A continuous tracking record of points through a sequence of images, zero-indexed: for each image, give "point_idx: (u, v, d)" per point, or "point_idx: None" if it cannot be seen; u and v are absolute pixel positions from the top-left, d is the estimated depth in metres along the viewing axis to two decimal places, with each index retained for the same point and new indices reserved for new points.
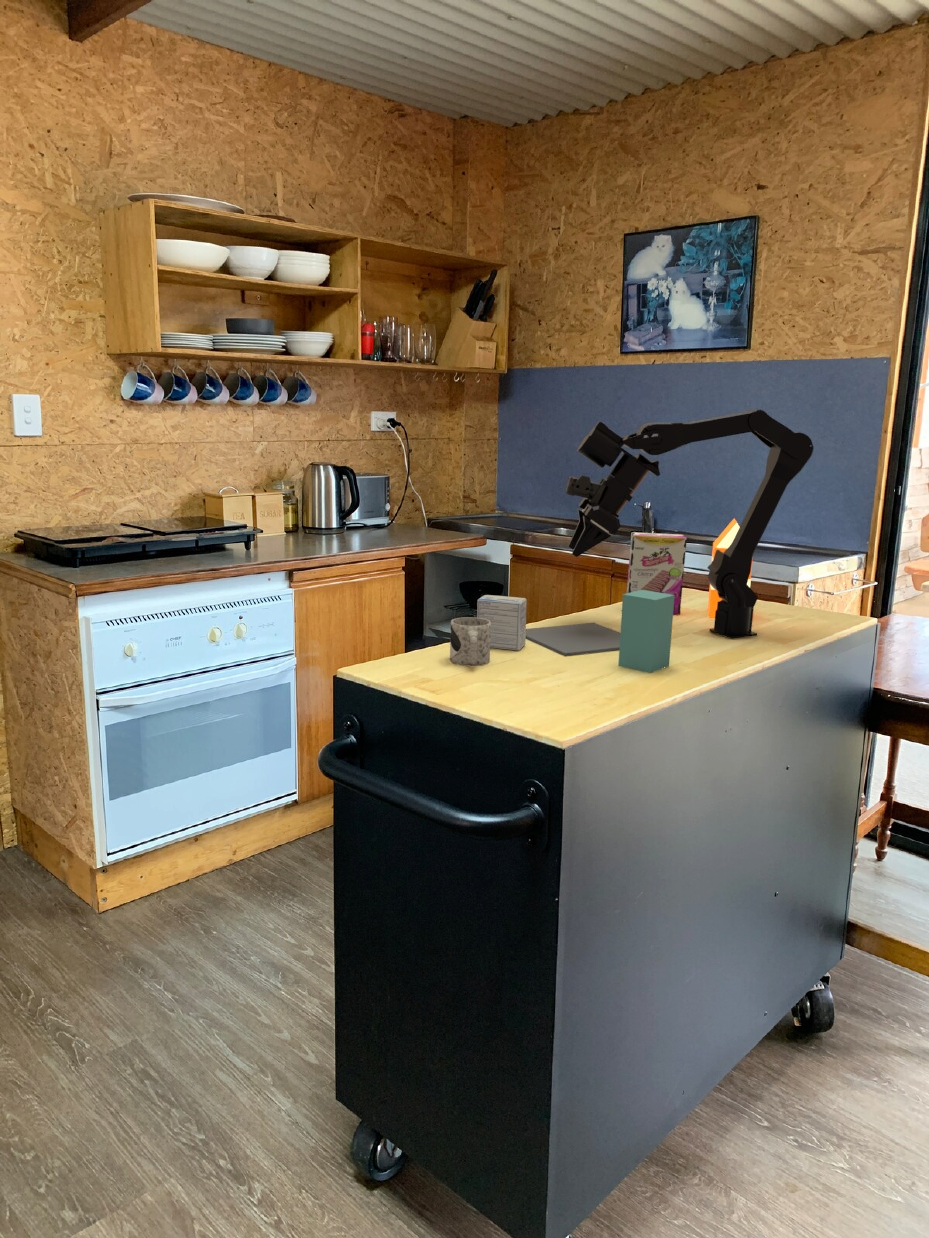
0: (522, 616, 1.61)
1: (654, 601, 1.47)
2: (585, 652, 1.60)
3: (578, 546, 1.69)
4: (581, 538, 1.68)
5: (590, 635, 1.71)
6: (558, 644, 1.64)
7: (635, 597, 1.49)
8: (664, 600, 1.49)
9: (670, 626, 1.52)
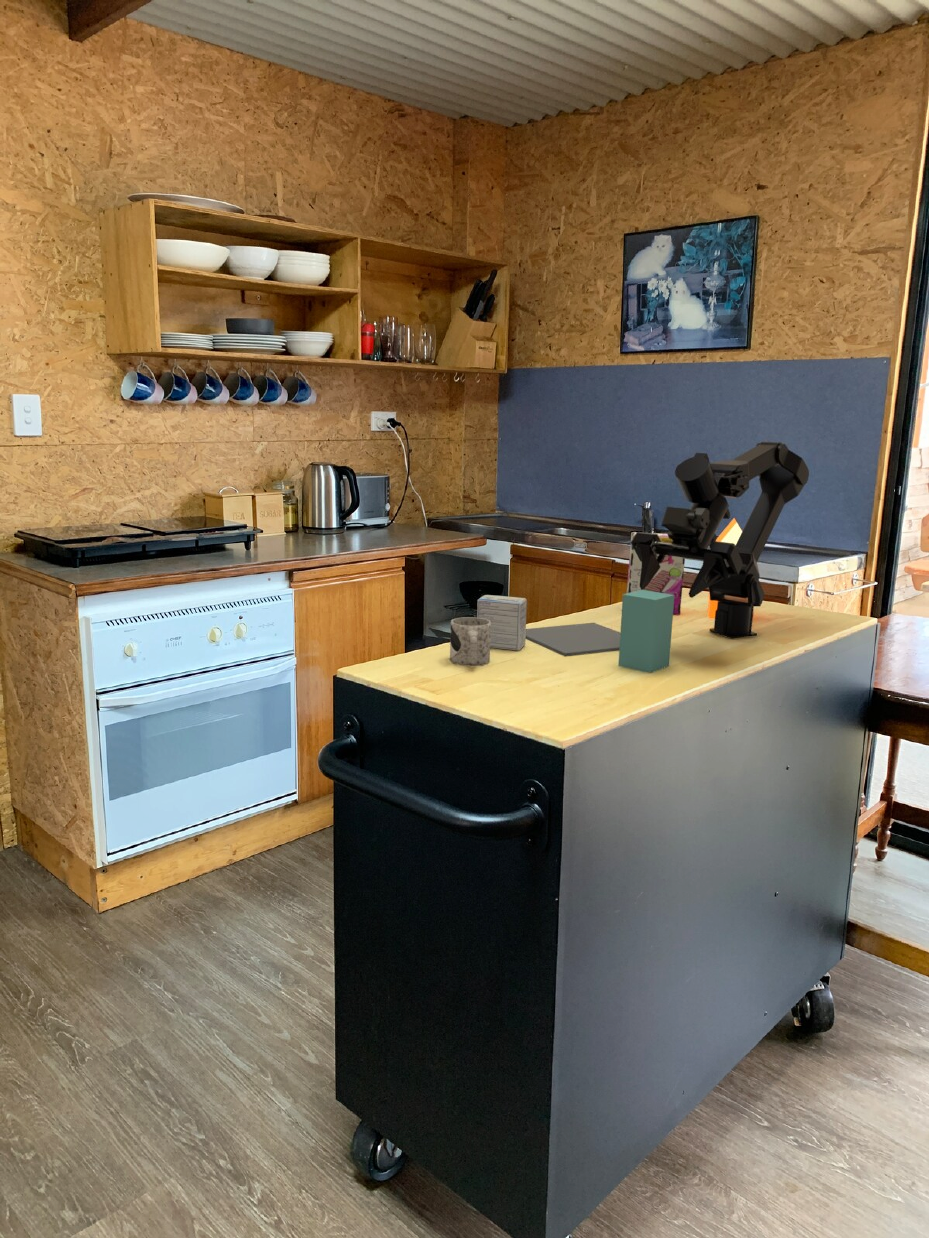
0: (522, 616, 1.61)
1: (654, 601, 1.47)
2: (585, 652, 1.60)
3: (698, 586, 1.52)
4: (703, 577, 1.52)
5: (590, 635, 1.71)
6: (558, 644, 1.64)
7: (635, 597, 1.49)
8: (664, 600, 1.49)
9: (670, 626, 1.52)
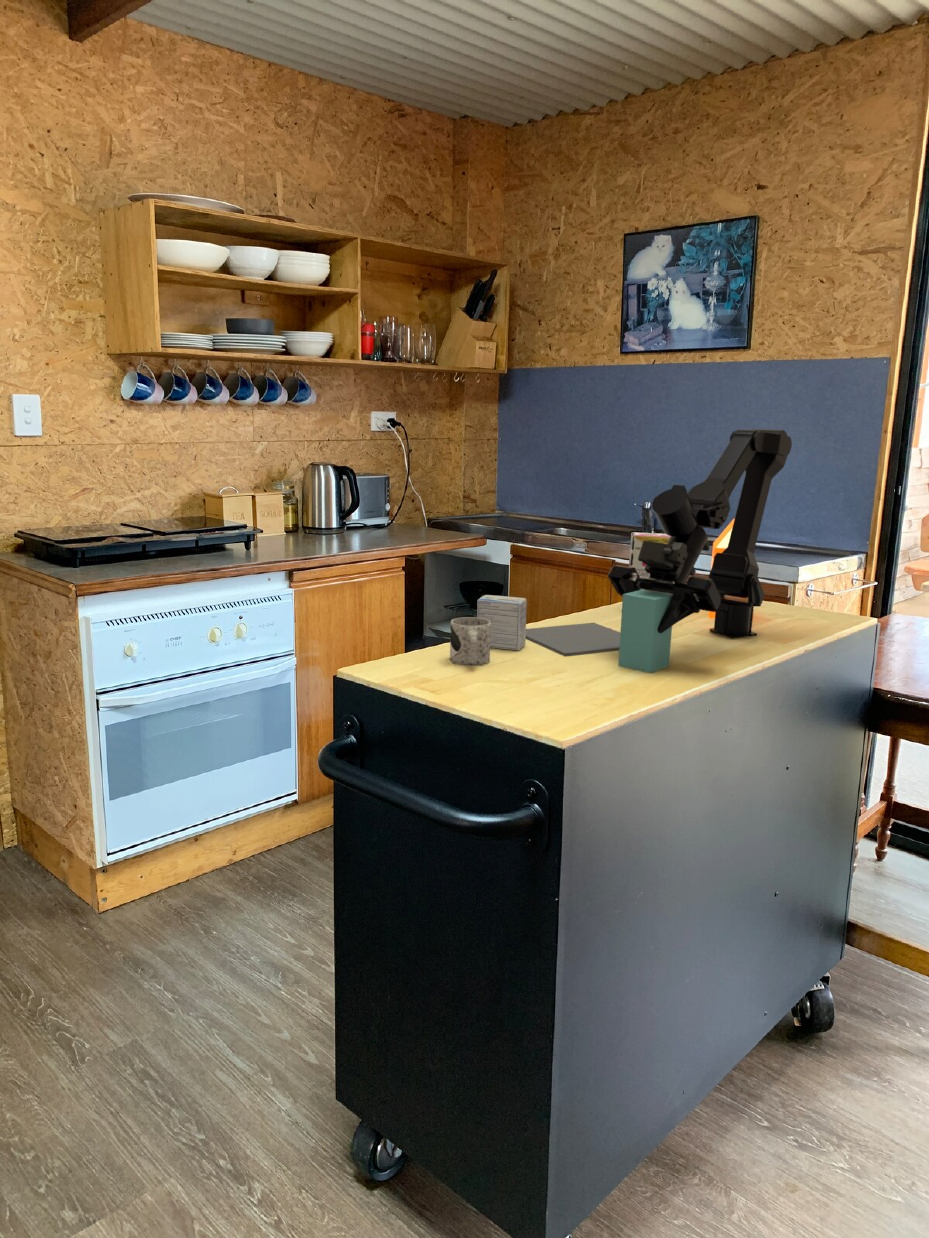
0: (522, 616, 1.61)
1: (654, 601, 1.47)
2: (585, 652, 1.60)
3: (667, 621, 1.49)
4: (672, 612, 1.49)
5: (590, 635, 1.71)
6: (558, 644, 1.64)
7: (635, 597, 1.49)
8: (664, 600, 1.49)
9: None
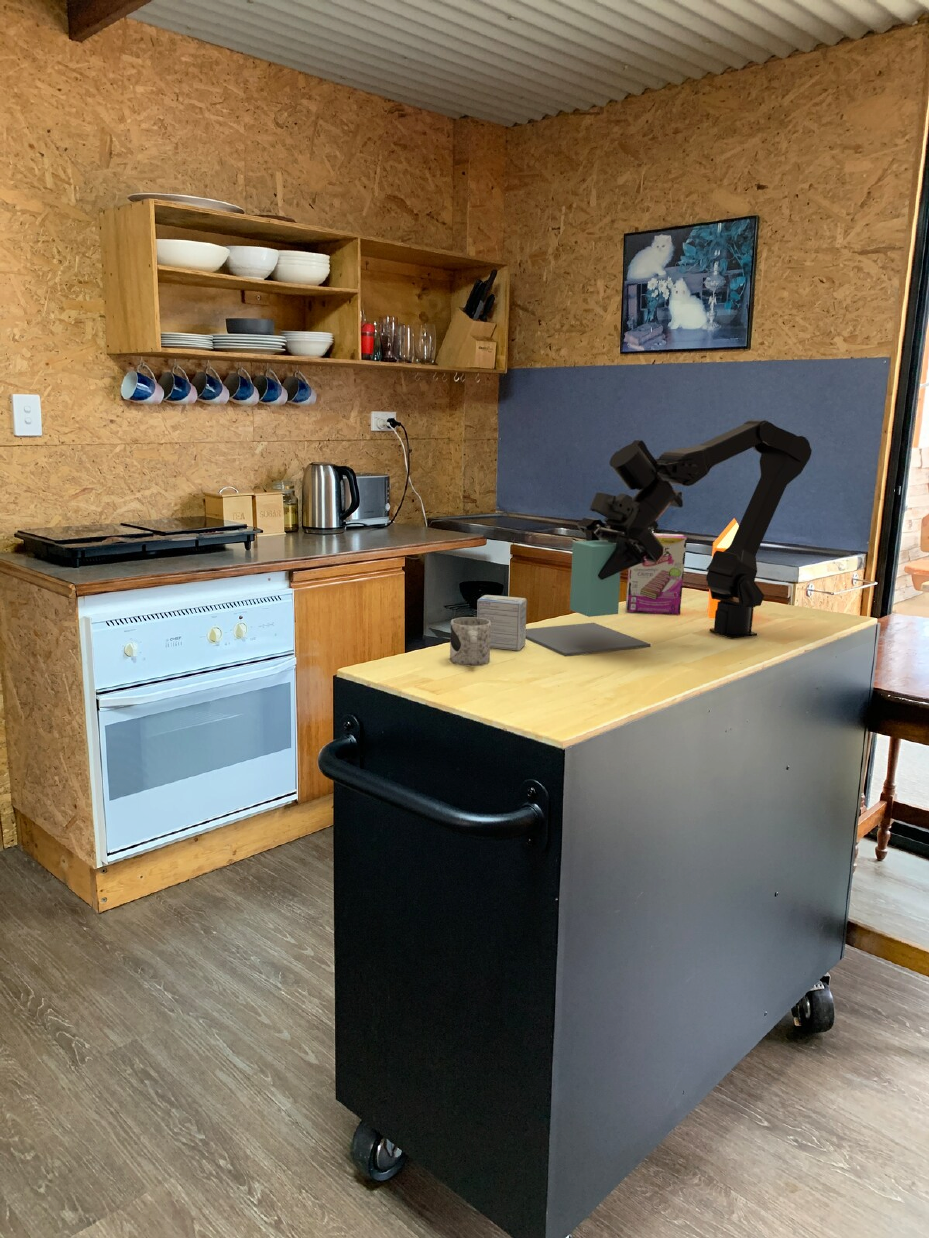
0: (522, 616, 1.61)
1: (592, 548, 1.55)
2: (585, 652, 1.60)
3: (607, 568, 1.56)
4: (613, 560, 1.56)
5: (590, 635, 1.71)
6: (558, 644, 1.64)
7: (580, 544, 1.58)
8: (606, 548, 1.56)
9: (617, 575, 1.58)
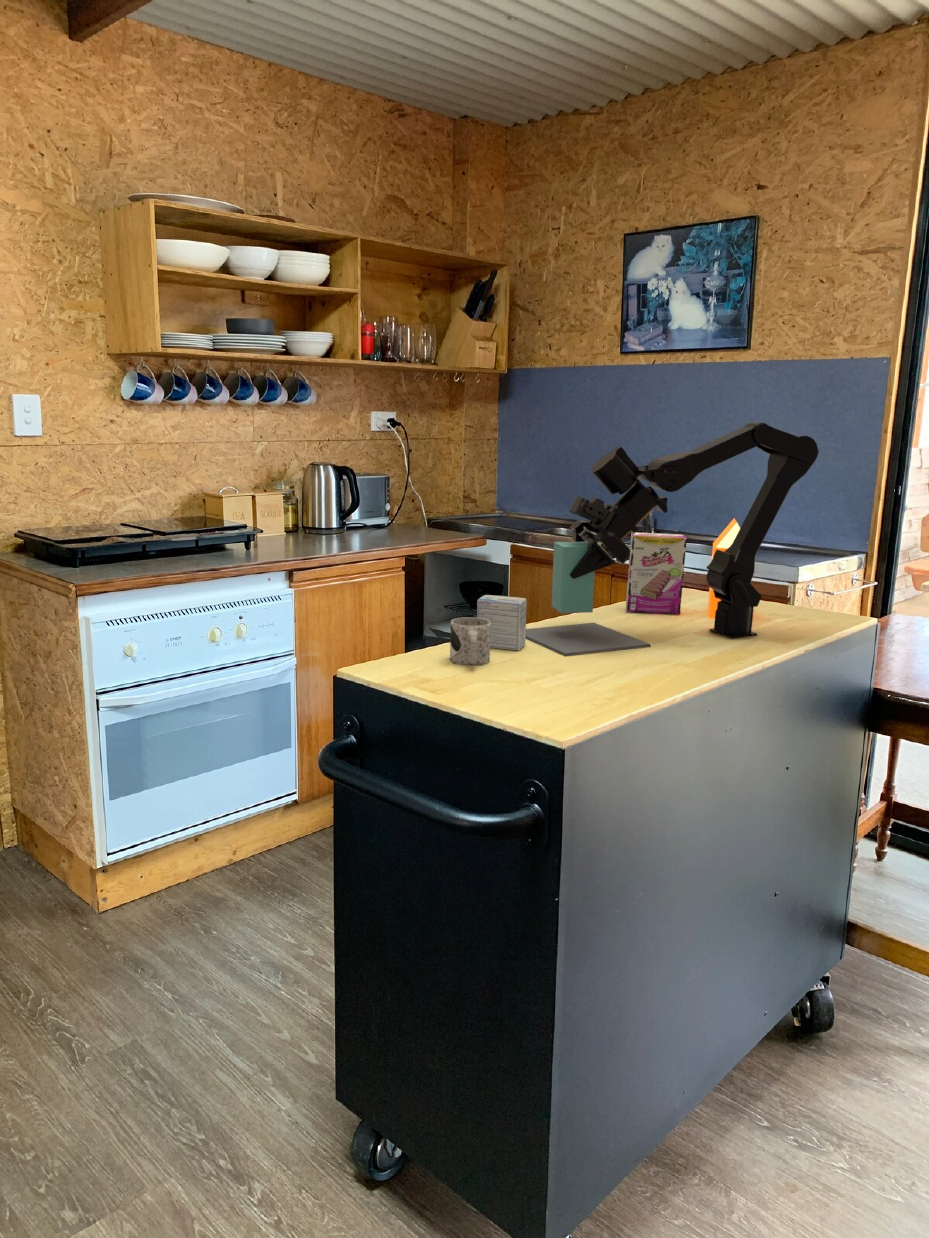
0: (522, 616, 1.61)
1: (563, 548, 1.64)
2: (585, 652, 1.60)
3: (578, 568, 1.64)
4: (583, 561, 1.64)
5: (590, 635, 1.71)
6: (558, 644, 1.64)
7: (557, 544, 1.68)
8: (579, 549, 1.65)
9: (591, 575, 1.66)
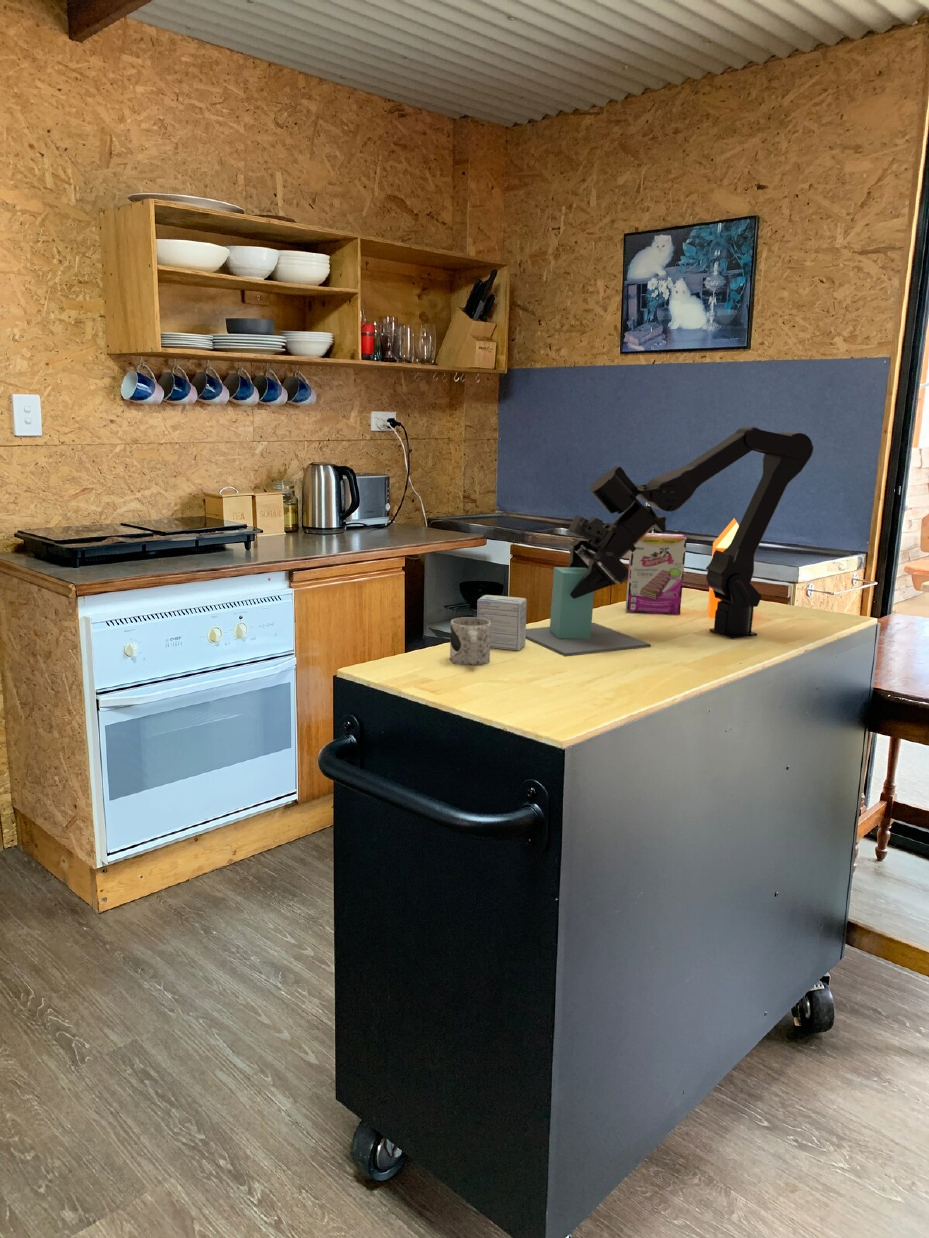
0: (522, 616, 1.61)
1: (563, 574, 1.65)
2: (585, 652, 1.60)
3: (579, 588, 1.64)
4: (584, 581, 1.63)
5: None
6: (558, 644, 1.64)
7: (557, 570, 1.69)
8: (578, 576, 1.66)
9: (590, 601, 1.67)
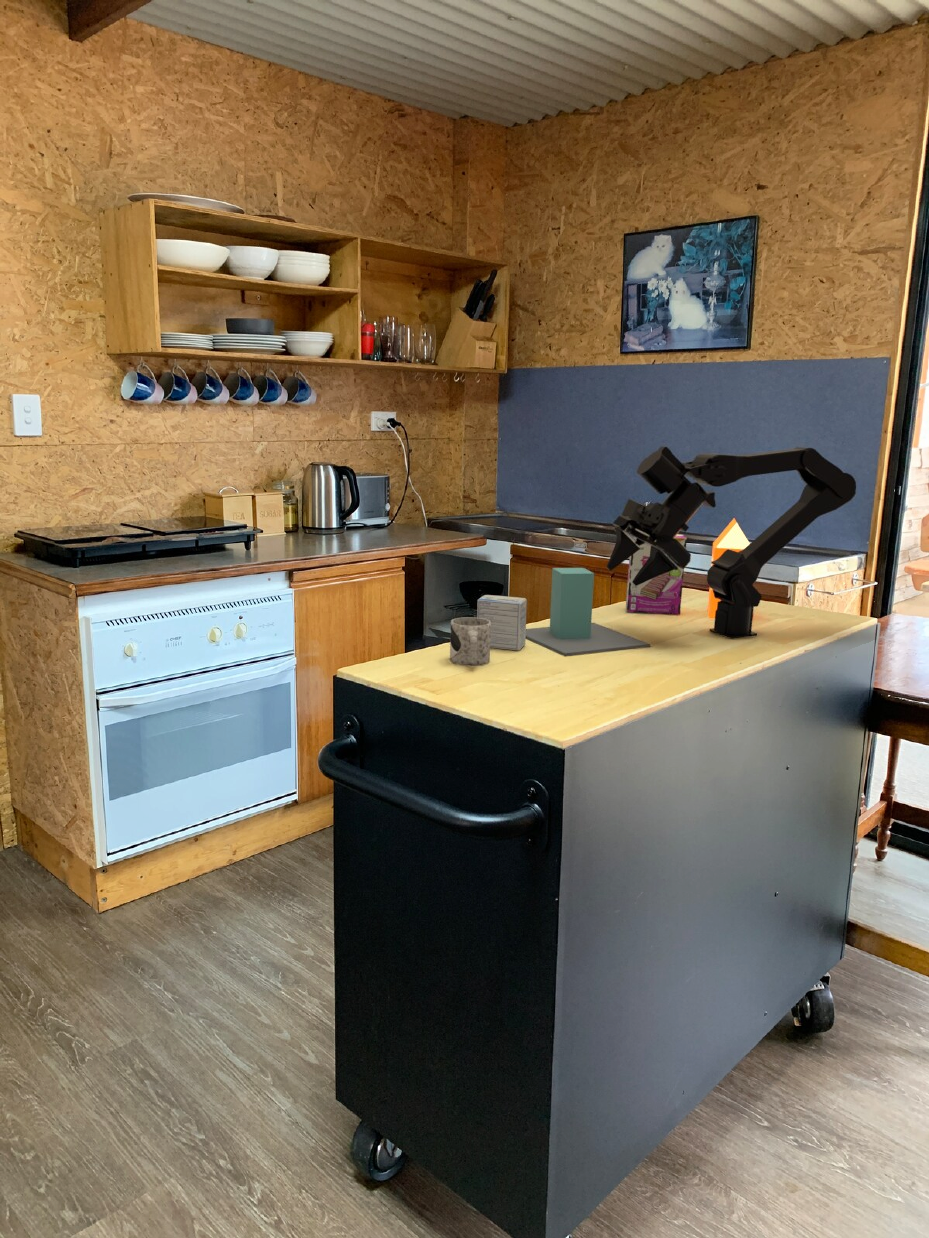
0: (522, 616, 1.61)
1: (561, 575, 1.65)
2: (585, 652, 1.60)
3: (641, 575, 1.65)
4: (646, 568, 1.64)
5: None
6: (558, 644, 1.64)
7: (556, 571, 1.69)
8: (577, 576, 1.66)
9: (589, 601, 1.67)
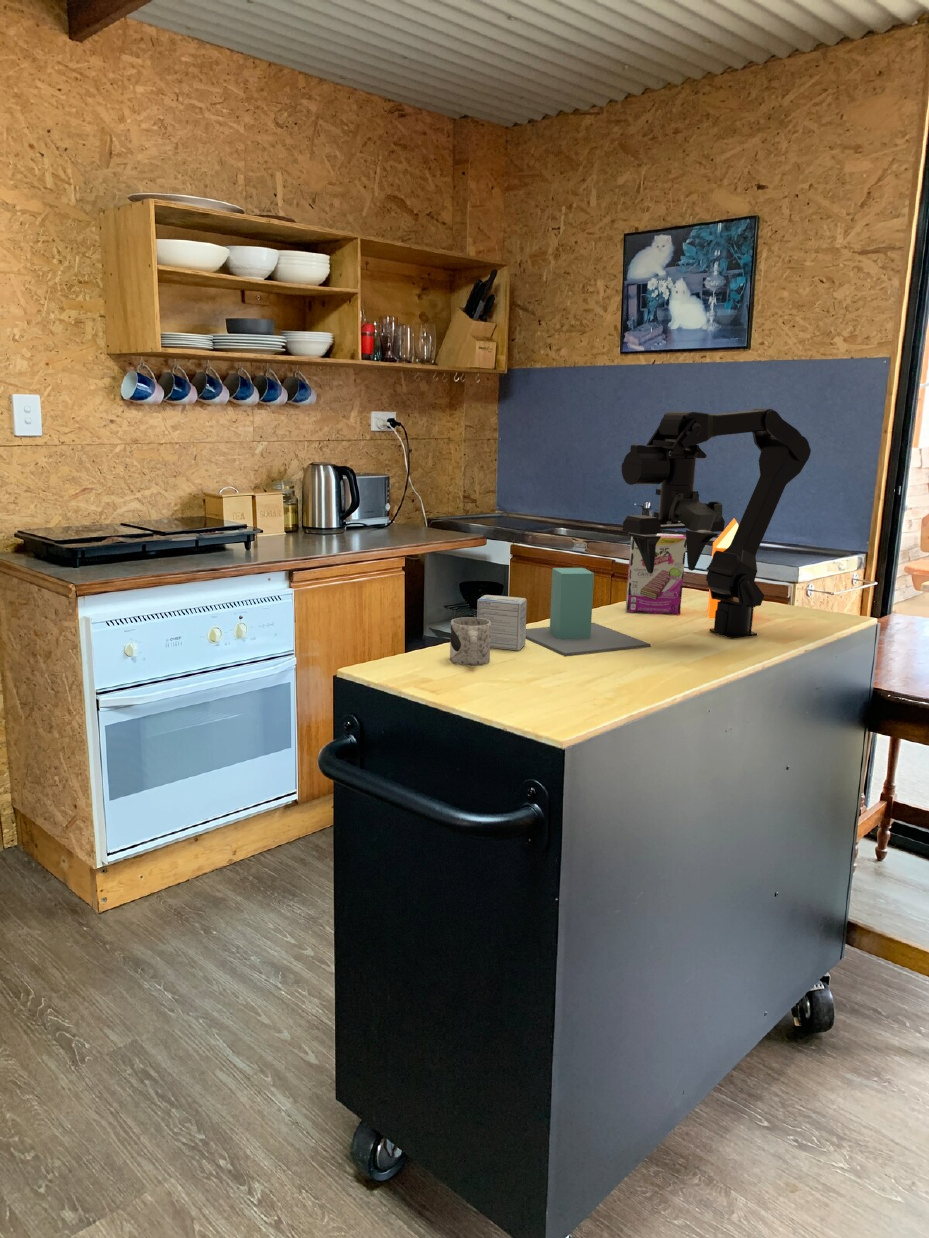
0: (522, 616, 1.61)
1: (561, 575, 1.65)
2: (585, 652, 1.60)
3: None
4: None
5: None
6: (558, 644, 1.64)
7: (556, 571, 1.69)
8: (577, 576, 1.66)
9: (589, 601, 1.67)
